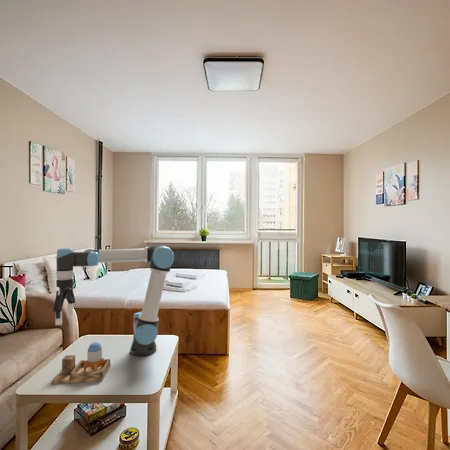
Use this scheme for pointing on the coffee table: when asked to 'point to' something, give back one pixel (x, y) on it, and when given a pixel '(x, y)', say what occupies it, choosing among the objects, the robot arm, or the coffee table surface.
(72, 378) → the tray
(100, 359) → the toy rocket
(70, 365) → the block
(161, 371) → the coffee table surface
